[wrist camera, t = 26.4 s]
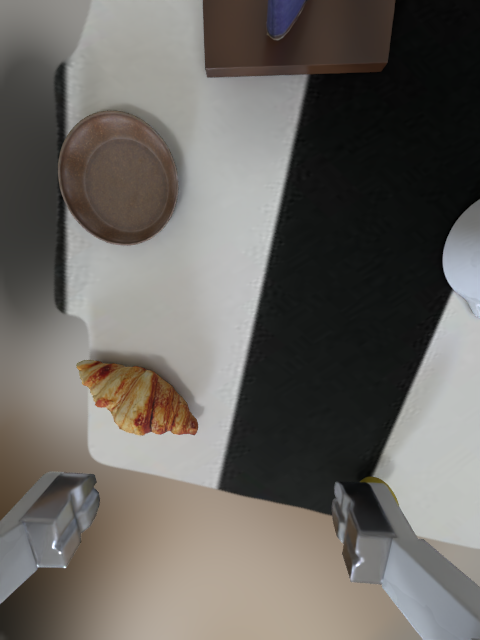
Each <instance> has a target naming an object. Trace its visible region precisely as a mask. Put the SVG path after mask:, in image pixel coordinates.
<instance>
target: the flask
mask: <svg viewBox="0 0 480 640" xmlns="http://www.w3.org/2000/svg"><path fill="white" fill-rule="evenodd" d="M306 2H307V0H268V10H267V22H266V29H267V35H269V36H270V38H272V39H273V40H280V39H281V38H283V37H284V36H285V35H286V34H287V33H288V32H289V30H290V29H291V27H292V26H293V24H294V23H295V21H296V20H297V19H298V16H299V15H300V14H301V12H302V10H303V7H304V5H305V4H306Z"/></svg>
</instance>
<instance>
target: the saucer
mask: <svg viewBox="0 0 480 640" xmlns="http://www.w3.org/2000/svg"><path fill="white" fill-rule="evenodd" d="M58 177H59V184H60V189H61V193H62V196H63V199H64V201H65V203H66V205H67V207H68V209H69V211H70V212H71V214H72V215H73V217H74V218H75V219H76V220H77V222H78V223H79V224H80V225H81V226H82V227H83V228H84V229H85V230H86V231H88V232H89V233H90V234H92V235H93V236H95V237H96V238H98V239H100V240H103V241H105V242H108V243H111V244H116V245H135V244H139V243H142V242H145V241H147V240H149V239H151V238H153V237H154V236H155V235H157V234H158V233H159V232H160V231H161V230H162V229H163V228H164V227H165V225H166V224H167V223H168V221H169V220H170V218H171V216H172V214H173V211H174V209H175V206H176V202H177V197H178V175H177V169H176V165H175V162H174V159H173V157H172V154H171V152H170V150H169V148H168V146H167V145H166V143H165V142H164V140H163V139H162V138H161V136H160V135H159V134H158V133H157V132H156V131H155V130H154V129H153V128H152V127H151V126H150V125H149V124H147V123H146V122H145V121H143V120H142V119H140V118H138V117H136V116H134V115H131V114H129V113H125V112H121V111H101V112H97V113H94V114H91V115H89V116H87V117H85V118H84V119H82V120H81V121H80V122H79V123H77V124H76V125H75V126H74V127H73V129H72V130H71V131H70V132H69V134H68V135H67V137H66V139H65V141H64V143H63V145H62V148H61V152H60V156H59V163H58Z"/></svg>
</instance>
